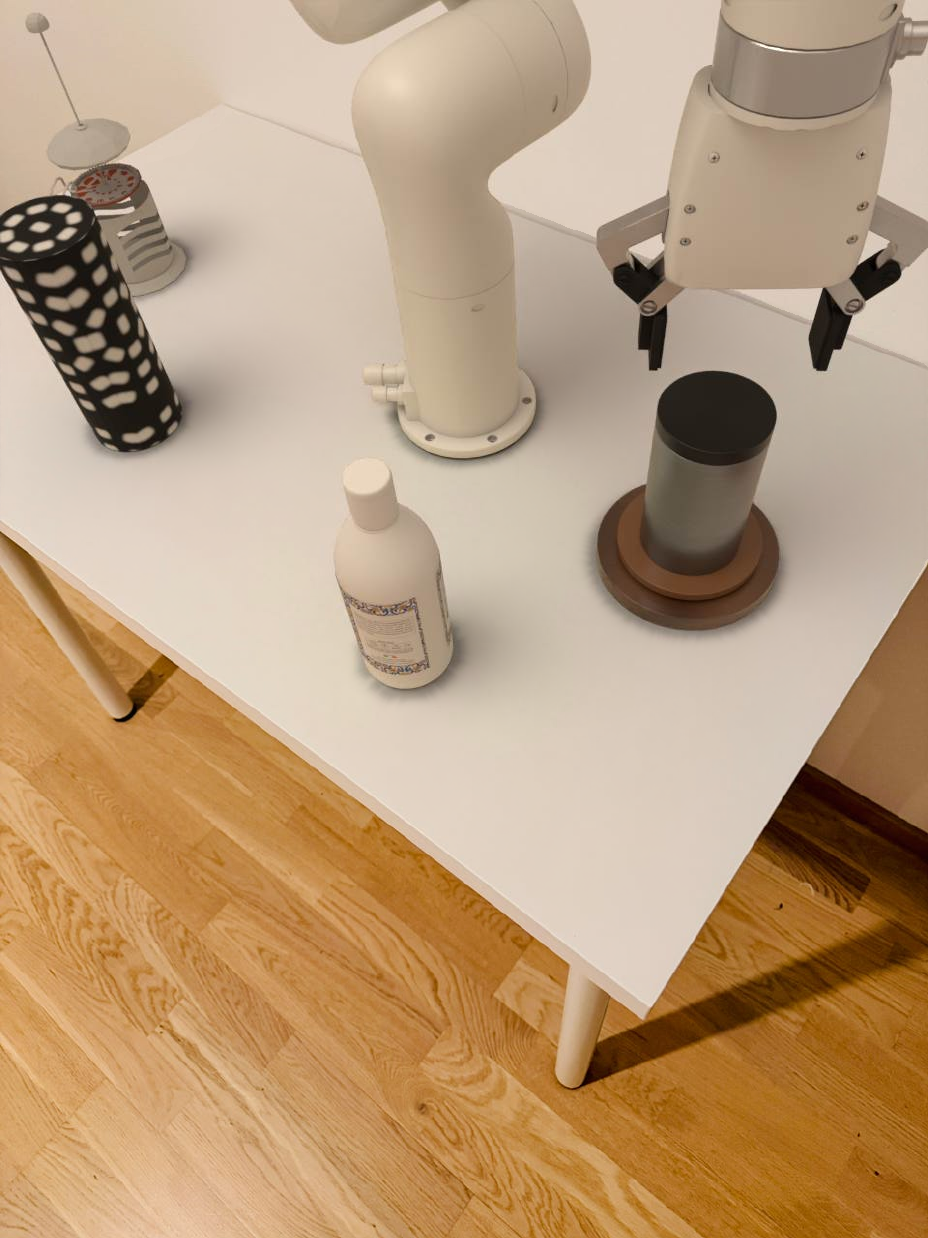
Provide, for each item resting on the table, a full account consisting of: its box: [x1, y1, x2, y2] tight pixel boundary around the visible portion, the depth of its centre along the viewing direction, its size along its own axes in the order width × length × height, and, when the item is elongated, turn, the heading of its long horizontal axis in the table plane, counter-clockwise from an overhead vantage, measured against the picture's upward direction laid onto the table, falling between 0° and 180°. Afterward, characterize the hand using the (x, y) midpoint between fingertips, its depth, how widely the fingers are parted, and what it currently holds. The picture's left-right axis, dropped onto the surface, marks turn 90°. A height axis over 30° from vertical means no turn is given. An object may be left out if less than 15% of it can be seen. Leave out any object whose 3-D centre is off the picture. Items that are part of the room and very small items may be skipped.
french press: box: [24, 12, 187, 297], centre depth 87 cm, size 10×12×25 cm
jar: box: [617, 370, 778, 600], centre depth 65 cm, size 11×12×14 cm
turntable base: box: [595, 483, 781, 631], centre depth 71 cm, size 14×14×2 cm
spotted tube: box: [0, 194, 183, 453], centre depth 77 cm, size 8×8×20 cm
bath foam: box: [333, 457, 454, 690], centre depth 61 cm, size 7×7×20 cm
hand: (734, 355), depth 55 cm, fingers open, 9 cm apart
